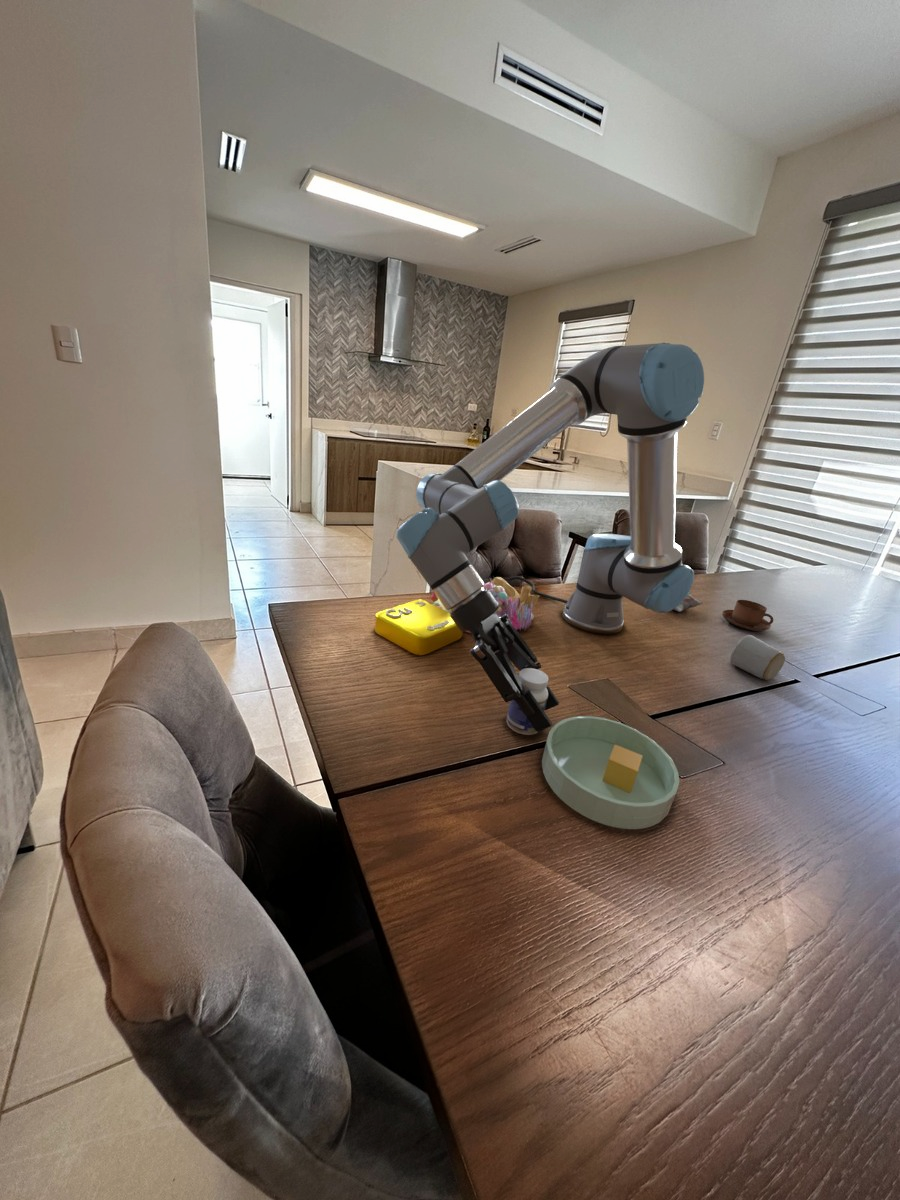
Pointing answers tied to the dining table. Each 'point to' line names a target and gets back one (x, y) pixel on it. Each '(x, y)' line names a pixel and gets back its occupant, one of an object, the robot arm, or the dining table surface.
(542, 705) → the pill bottle
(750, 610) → the cup and saucer
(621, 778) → the block
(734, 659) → the ceramic mug
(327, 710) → the dining table surface
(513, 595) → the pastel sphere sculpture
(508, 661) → the robot arm
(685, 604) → the packaged food
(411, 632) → the element tile
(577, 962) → the dining table surface
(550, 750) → the bowl
